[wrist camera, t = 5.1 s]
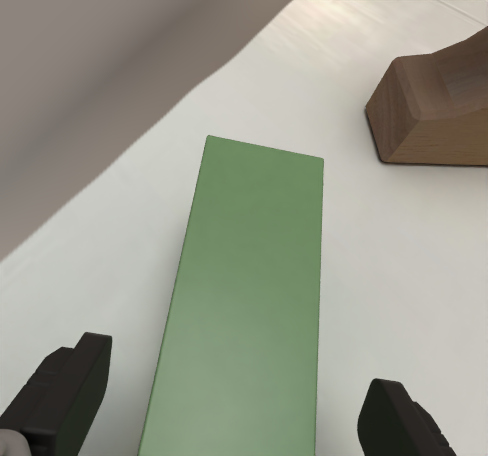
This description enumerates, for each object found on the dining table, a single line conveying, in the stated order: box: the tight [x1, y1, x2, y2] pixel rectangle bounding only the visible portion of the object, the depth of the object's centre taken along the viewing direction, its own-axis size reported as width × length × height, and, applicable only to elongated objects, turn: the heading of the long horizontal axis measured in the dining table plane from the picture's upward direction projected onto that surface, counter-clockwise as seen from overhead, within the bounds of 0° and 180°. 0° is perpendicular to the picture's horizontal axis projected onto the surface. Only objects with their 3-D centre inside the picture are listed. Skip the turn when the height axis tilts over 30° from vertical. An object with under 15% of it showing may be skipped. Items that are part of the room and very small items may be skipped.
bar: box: [137, 135, 324, 456], centre depth 16 cm, size 5×14×8 cm, turn 173°
